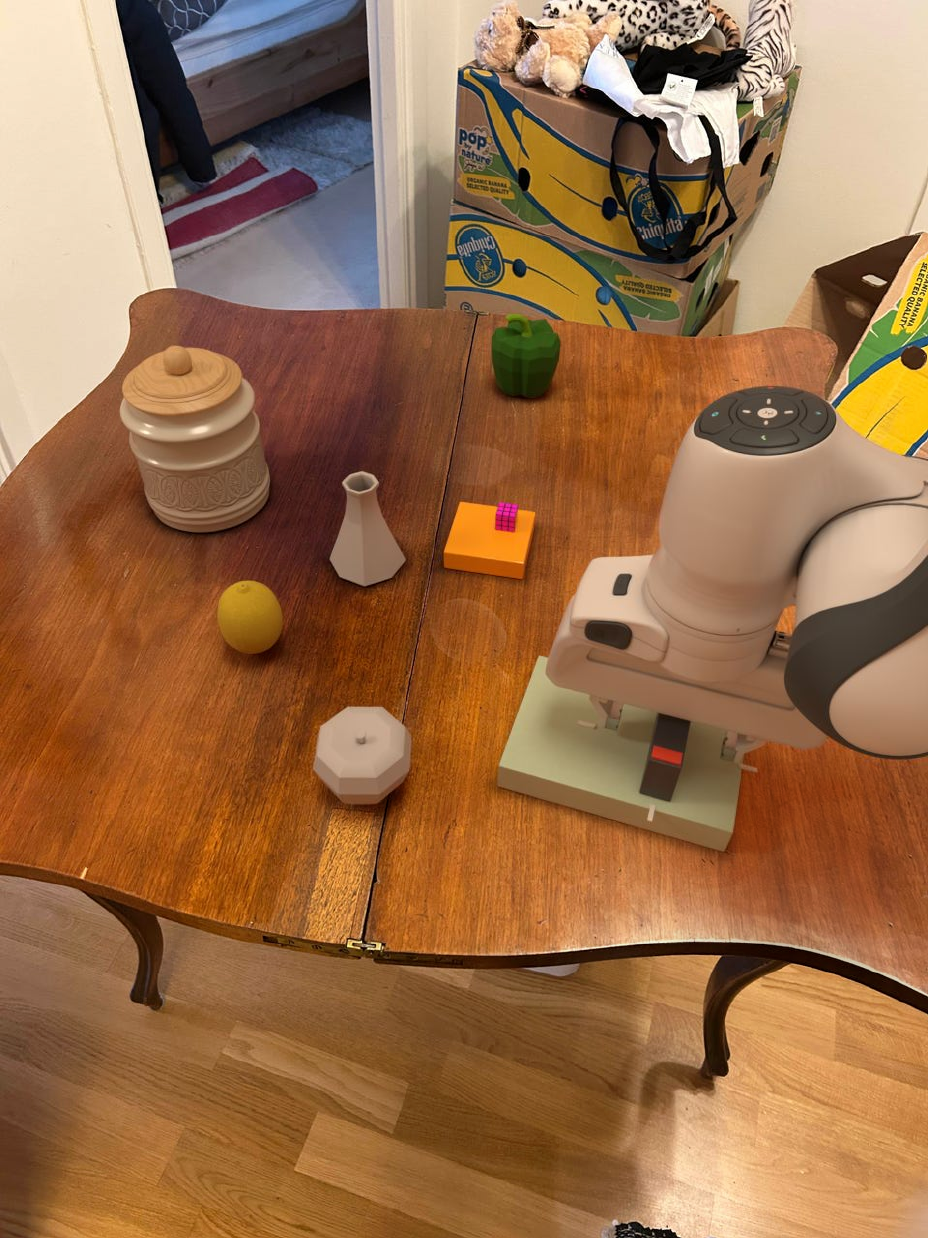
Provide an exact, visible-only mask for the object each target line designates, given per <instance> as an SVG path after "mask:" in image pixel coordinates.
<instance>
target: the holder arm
mask: <svg viewBox="0 0 928 1238" xmlns="http://www.w3.org/2000/svg"><path fill="white" fill-rule="evenodd" d="M690 724H691V721H689V720H685V719H681V718H677V717H673V716H669V715H666V714H662V713H658V712H657V716H656V720H655V725H654V729H653V733H652V738H651V742H650V747H649V751H648V755H647V760H646V764H645V768H644V773H643V777H642V781H641V786H640V790H639V793H640V794H644V795H647V796H651V797H654V798H658V799H662V800H665V801H669V802H670V801H671V799H672V796H673V793H674V790H675V787H676V784H677V781H678V778H679V775H680V772H681V769H682V765H683V759H684V754H685V749H686V744H687V739H688V734H689V729H690Z"/></svg>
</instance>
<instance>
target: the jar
mask: <svg viewBox="0 0 928 1238" xmlns="http://www.w3.org/2000/svg"><path fill="white" fill-rule="evenodd" d="M121 392H122V397H123V399H122V401H121V404H120V405H119V416H120V419H121V422H122V423H123V425H124V426H125V427H126V429H128V430H129V431H130V432H129V437H128V442H129V446H130V449H131V451H132V453H133V455H134V457H135V460H136V463H137V466H138V469H139V472H140V476H141V479H142V482H143V490H144V494H145V497H146V501H147V503H148V505H149V507H150V508H151V510H152V511H153V512H154V514H155V516H156V517H157V519H159V520H160V521H161V522H162V523H164V524H165V525H167V526H169V527H171V528H173V529H175V530H180V531H183V532H190V533H210V532H218V531H219V532H220V531H223V530H227V529H229V528H233V527H236V526H238V525H241V524H242V523H244V522H247V521H248V520H249V519H251V518H252V517H254V516H255V515H257V513H259V512H260V510H261V509H262V508H263V507H264V506H265V504H266V502H267V501H268V498H269V495H270V484H271V476H270V475H271V474H270V469H269V466H268V463H267V461H266V457H265V452H264V448H263V442H262V436H261V432H260V431H261V423H260V419H259V416H258V414H257V413H256V412H255V410H254V409H253V408H254V406H255V400H256V394H255V390H254V388H253V386H252V384H250V383H249V381H248V380H247V379H246V378H244V377H243V372H242V370H241V368H240V366H239V365H238V364H237V363H236V361H234V360H233V359H231V358H230V357H228V356H225V355H223V354H220V353H217V352H213V351H212V350H209V349H205V348H198V347H184V346H182V345H181V346H180V345H171V346H169V347H168V348H166V349H165V350H163V351H160V352H158V353H155V354H153V355H151V356H149V357H147V358H145V359H144V360H143V361H142V362H141V363H140V364H138V365H136V366H135V367H134V368H133V369H131V371H130V372H129V373H128V374H126V376H125V378H124V379H123V382H122V386H121Z"/></svg>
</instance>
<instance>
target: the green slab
mask: <svg viewBox="0 0 928 1238" xmlns="http://www.w3.org/2000/svg"><path fill="white" fill-rule="evenodd" d="M547 661H548V657H546V656H543V655H538V657H537V659H536V662H535V664H534V667H533V670H532V672H531V676H530V679H529V682H528V683H527V687H526V689H525V692H524V695H523V698H522V699H521V700H522V701H521V703H520V706H519V709H518V711H517V714H516V717H515V719H514V722H513V725H512V728H511V730H510V733H509V736H508V739H507V741H506V744H505V747H504V750H503V753H502V755H501V757H500V761H499V763H498V767H497V785H496V786H497V787H499V788H503V789H505V790H509V791H512V792H516V793H519V794H522V795H526V796H529V797H533V798H536V799H539V800H542V801H547V802H550V803H554V804H557V805H561V806H564V807H567V808H571V809H575V810H578V811H582V812H585V813H588V814H591V815H594V816H599V817H602V818H605V819H609V820H612V821H616V822H619V823H622V824H626V825H629V826H633V827H636V828H639V829H644V830H647V831H650V832H653V833H657V834H660V835H663V836H667V837H670V838H674V839H677V840H682V841H685V842H688V843H691V844H695V845H699V846H702V847H705V848H708V849H711V850H716V851H719V852H722V853H724V852H725V851H726V849H727V847H728V845H729V843H730V840H731V838H732V836H733V834H734V829H735V821H736V815H737V808H738V800H739V793H740V785H741V779H742V772H743V770H745V771H748V772H753V773H758V767H755V766H752V765H747V764H744V756H745V753H744V754H743V756H742V759H741V761H740V763H739V764H737V763H733V762H729V761H726V760H722V759H720V754H721V747H722V743H723V740H724V738H725V734H726V732H727V730H723V729H720V728H716V727H712V726H708V725H704V724H700V723H696V722H693V721H691V724H690V729H689V734H688V739H687V744H686V749H685V754H684V759H683V765H682V769H681V772H680V775H679V778H678V781H677V784H676V787H675V790H674V793H673V796H672V799H671V801H670V802H669V801H665V800H662V799H658V798H654V797H651V796H647V795H644V794H640V793H639V790H640V786H641V781H642V777H643V773H644V768H645V764H646V760H647V755H648V751H649V747H650V742H651V738H652V733H653V729H654V725H655V720H656V716H657V712H654V711H650V710H646V709H642V708H638V707H635V706H631V705H627V704H623V709H622V713H621V717H620V721H619V725H618V729H617V731H614V730H610V729H606V728H602V727H599V722H600V717H601V715H599V713H598V712H597V710H596V709H595V707H594V706H593V704H592V703H591V701H590V700H589V698H590V695H588V694H584V693H581V692H577V691H573V690H569V689H565V688H561V687H557V686H555V685H554V684H553V683H552V682H551V681H550V680H549V678H548V677H547V676H546V673H545V672H546V665H547Z"/></svg>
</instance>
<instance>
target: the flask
mask: <svg viewBox="0 0 928 1238" xmlns="http://www.w3.org/2000/svg"><path fill="white" fill-rule="evenodd" d="M341 485H342V487H343V488H344V490H345V492H346V505H345V514H344V518H343V521H342V523H341V526H340V529H339V533H338V534H337V538H336V540H335V543H334V544H333V545H334V546H333V549H332V551H331V554H330V557H329V561H330V562H331V564H332V566H333V568H334V570H335V571H336V573H337V575H338V576H339V578H342V579H343V580H346V581H349V582H352V583H353V584H354V583H355V584H357V585H360V586H361V587H367V586H370V585H373V584H376V583H379V582H383V581H385V580H389V579H391V578H393V577H394V576H395V574H397V572H398V570H400V568H402V566H403V565H404V564H405V562H406V560H407V559H406V556H405V555H404V553H403V551H402V550H401V548H400V546H399V544H398V543H397V541H396V539H395V538H394V536H393V533H392V532H391V530H390V528H389V526H388V523H387V522H386V520H385V518H384V516H383V514H382V511H381V508H380V505H379V504H380V503H379V501H378V497H377V489H378V488H379V486H380V482H379V481H378V479H377V478H376V475H374V474H372V473H369V472H366V471H363V470H361V471H358V472H354V473H350V474H349V475H347V477H345V479H344V480H343V481H341Z"/></svg>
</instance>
